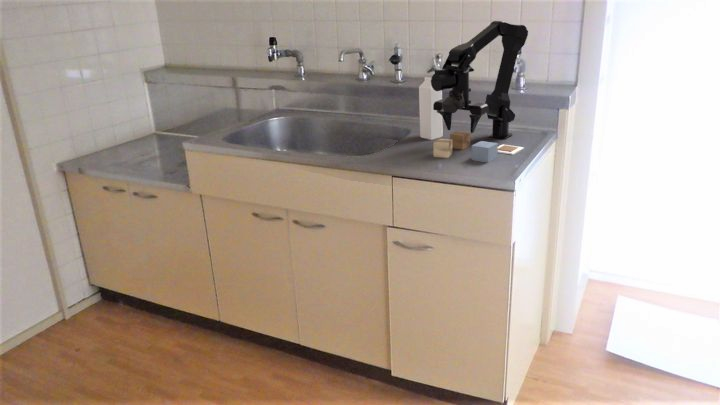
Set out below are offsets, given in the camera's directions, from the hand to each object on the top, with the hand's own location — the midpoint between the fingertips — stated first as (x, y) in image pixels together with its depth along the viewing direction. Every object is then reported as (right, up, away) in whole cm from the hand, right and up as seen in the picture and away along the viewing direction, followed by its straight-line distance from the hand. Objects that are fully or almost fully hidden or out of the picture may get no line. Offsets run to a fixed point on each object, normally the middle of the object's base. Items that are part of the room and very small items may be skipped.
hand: (460, 131), depth 207 cm
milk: (-8, 0, +16) cm, 18 cm away
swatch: (+15, -7, -5) cm, 17 cm away
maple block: (-7, -9, -6) cm, 12 cm away
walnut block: (0, -5, +2) cm, 6 cm away
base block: (+6, -10, -12) cm, 17 cm away
